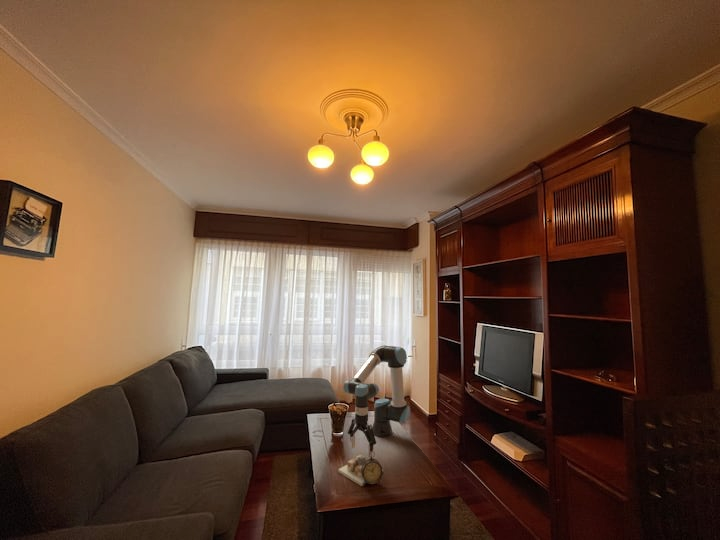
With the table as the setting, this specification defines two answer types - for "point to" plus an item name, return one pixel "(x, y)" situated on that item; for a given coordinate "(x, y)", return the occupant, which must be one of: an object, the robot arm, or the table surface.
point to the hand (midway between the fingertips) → (361, 452)
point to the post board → (353, 473)
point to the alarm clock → (371, 471)
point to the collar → (355, 465)
